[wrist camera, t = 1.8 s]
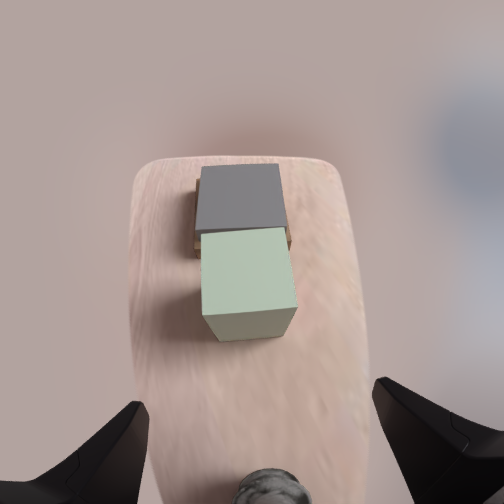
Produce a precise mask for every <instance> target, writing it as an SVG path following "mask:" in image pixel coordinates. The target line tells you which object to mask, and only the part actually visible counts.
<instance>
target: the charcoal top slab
mask: <svg viewBox="0 0 504 504" xmlns="http://www.w3.org/2000/svg"><path fill="white" fill-rule="evenodd" d="M279 227H284V229H285V234H286V231H287V220H286V213H285V205H284V198H283V191H282V184H281V178H280V171H279V164H240V165H220V166H204V167H202V170H201V178H200V187H199V196H198V205H197V215H196V226H195V231H196V234H197V237H198V240H199V242H201V234H207V233H219V232H230V231H242V230H254V229H266V228H279Z"/></svg>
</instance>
